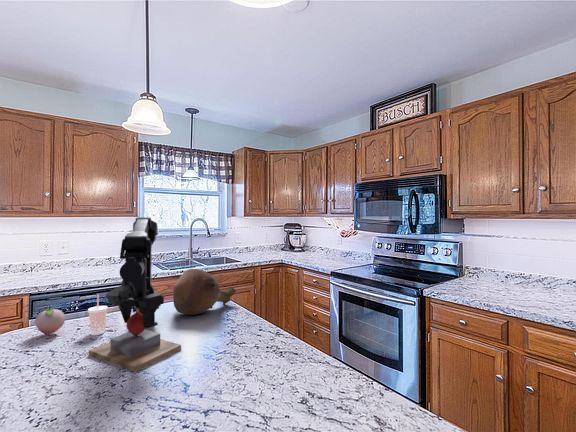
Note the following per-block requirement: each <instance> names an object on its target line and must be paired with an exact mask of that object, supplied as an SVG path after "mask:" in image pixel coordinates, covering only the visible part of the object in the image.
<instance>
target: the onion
mask: <svg viewBox="0 0 576 432" xmlns="http://www.w3.org/2000/svg"><path fill="white" fill-rule="evenodd" d="M126 329H127V331H128V332H130V333H132V334H133V335H134V336H137V335H139V334H140V333H142V332H143V331H144V330H146V328H144V325H143V314H142V313H140V312H139V310H136V312H134V313H133V314H131V315H130V318H129V320H128V321H127V323H126Z"/></svg>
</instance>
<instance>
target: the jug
mask: <svg viewBox="0 0 576 432" xmlns="http://www.w3.org/2000/svg"><path fill="white" fill-rule="evenodd" d="M236 292H237V291H236V289H235V288H234V287H232V286H231V287H228V288H227V289H226V290H225V291H224V290H222V289H221V288H220V284H219V282H218V280H217V279H216V278H215V277H214V276H213V275H212V274H210V273H209V272H207V271H205V270H203V269H198V268H191V269H188V270H186V271H184V272H183V273H182V274H181V275H180V276H179V278H178V279H177V281H176V283H175V285H174V286H173V295H172V298H173V299H172V301H173V307H174V308H175V310H176V311H177V312H178V314H181V315H187V316H194V315H195V316H196V315H201V314H203V313H205V312H207V311H208V310H211V309H212V310H213V306H214V305H215V304H216V303H218V302H219V303H222V304H223V305H226V304H227V303H229V302H231V297H232V296H234V295H235V294H236Z"/></svg>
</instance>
